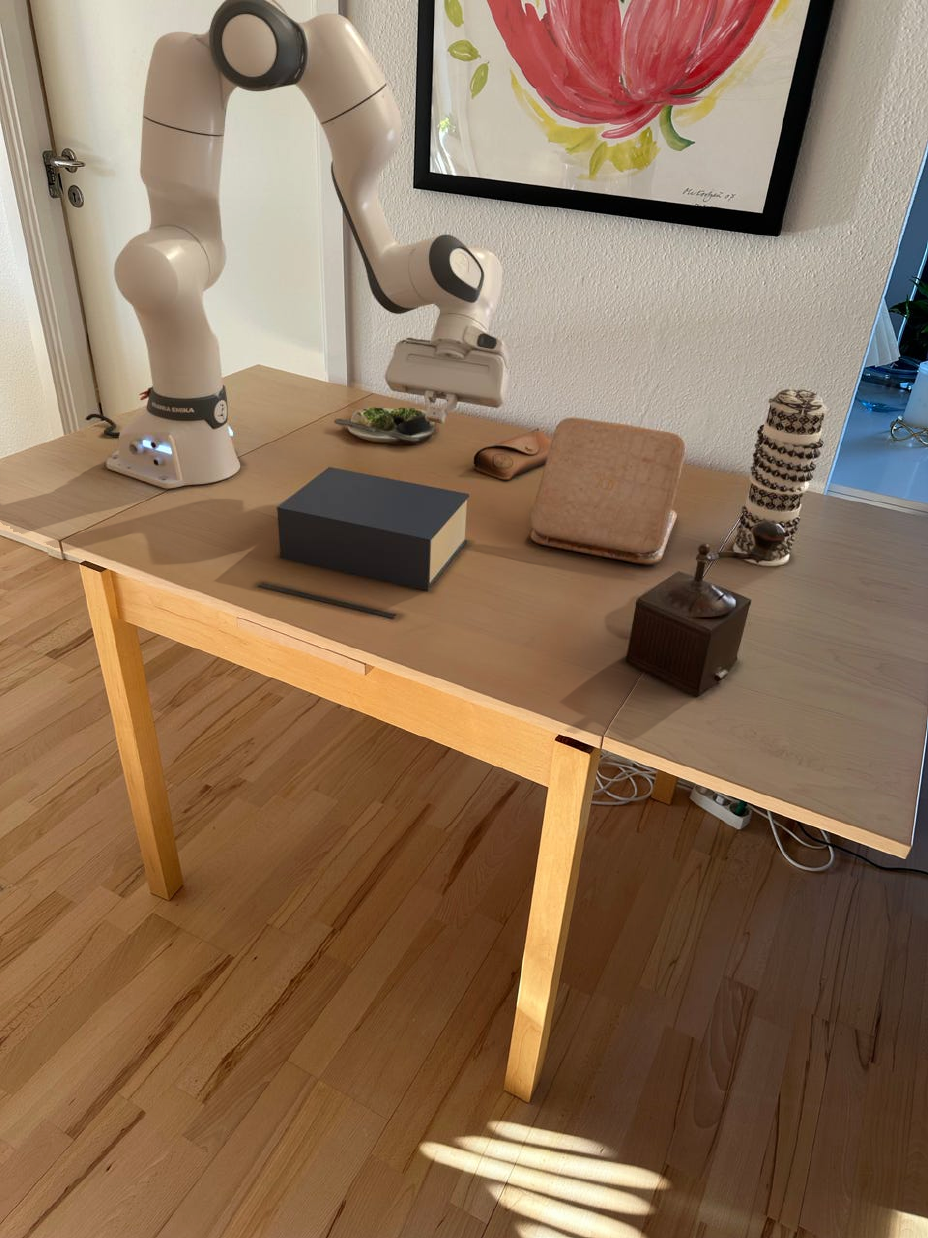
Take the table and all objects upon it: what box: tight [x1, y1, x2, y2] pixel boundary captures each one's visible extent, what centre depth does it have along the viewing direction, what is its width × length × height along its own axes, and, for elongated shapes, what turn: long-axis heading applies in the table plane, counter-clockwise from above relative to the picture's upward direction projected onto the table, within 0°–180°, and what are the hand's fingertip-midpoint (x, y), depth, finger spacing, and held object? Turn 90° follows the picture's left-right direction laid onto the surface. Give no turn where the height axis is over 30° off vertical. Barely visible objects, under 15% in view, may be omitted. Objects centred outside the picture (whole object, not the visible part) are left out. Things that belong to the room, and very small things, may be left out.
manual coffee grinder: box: [625, 521, 785, 697], centre depth 109 cm, size 16×11×18 cm
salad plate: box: [333, 406, 437, 446], centre depth 174 cm, size 19×18×5 cm
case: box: [529, 417, 687, 566], centre depth 139 cm, size 20×21×16 cm
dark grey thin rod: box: [258, 582, 397, 619], centre depth 121 cm, size 20×1×1 cm, turn 70°
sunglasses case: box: [473, 427, 552, 481], centre depth 164 cm, size 18×7×7 cm, turn 139°
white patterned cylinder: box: [732, 388, 829, 567], centre depth 132 cm, size 9×9×25 cm
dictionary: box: [276, 466, 470, 592], centre depth 132 cm, size 23×16×8 cm
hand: (434, 420), depth 145 cm, fingers closed
